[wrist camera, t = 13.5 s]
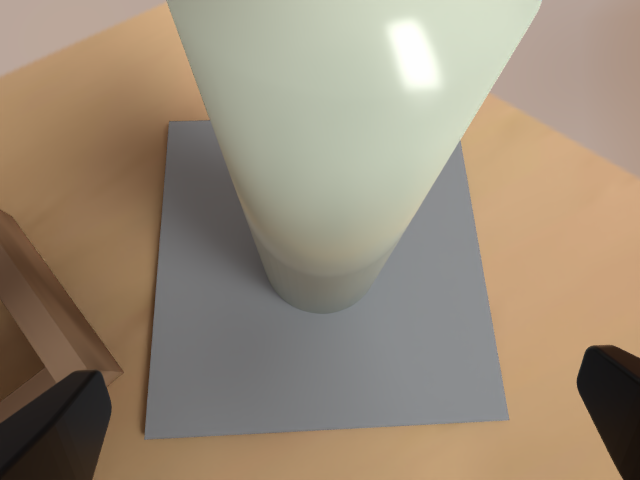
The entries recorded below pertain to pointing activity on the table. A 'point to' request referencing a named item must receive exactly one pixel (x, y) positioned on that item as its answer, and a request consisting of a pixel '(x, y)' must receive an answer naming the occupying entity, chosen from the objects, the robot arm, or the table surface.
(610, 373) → the robot arm
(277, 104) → the green bottle
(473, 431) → the table surface
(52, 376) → the brown square open box
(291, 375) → the mat
